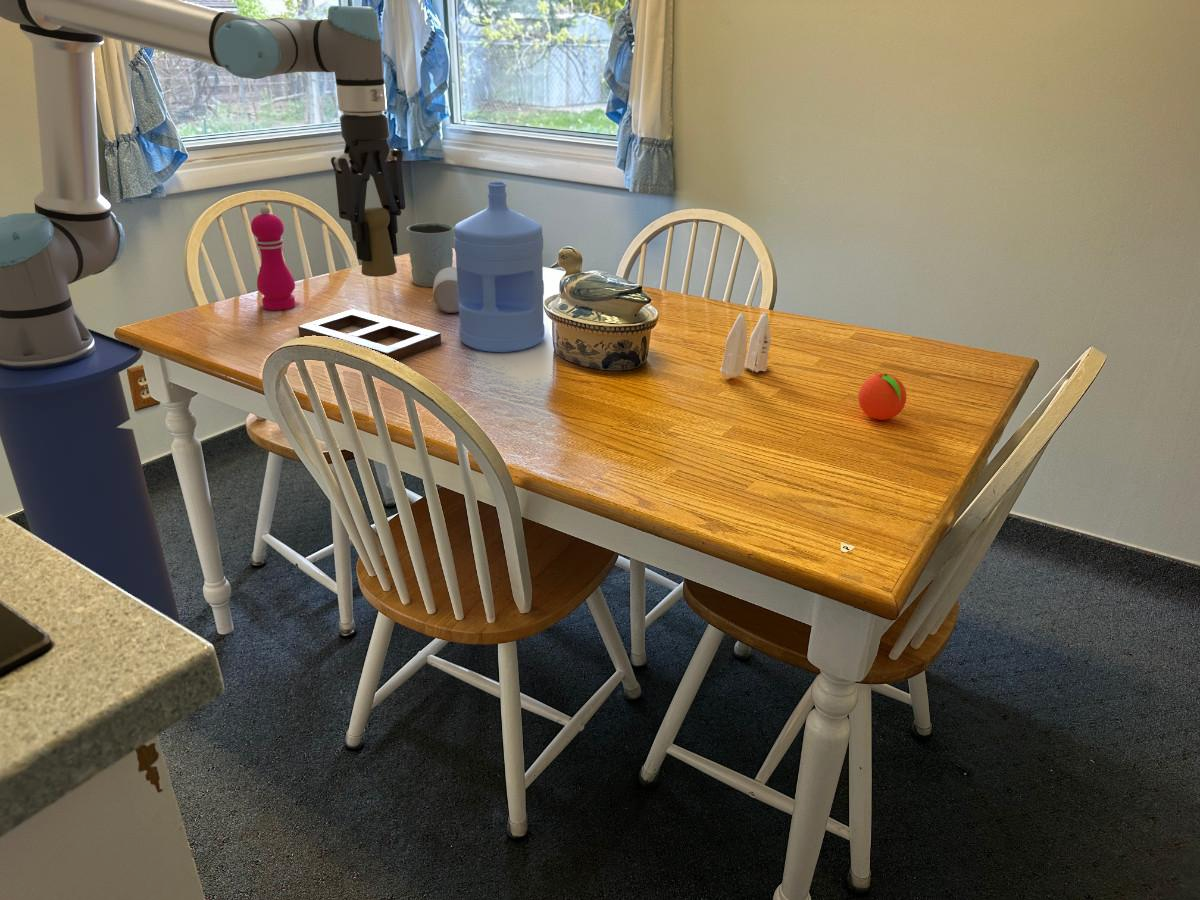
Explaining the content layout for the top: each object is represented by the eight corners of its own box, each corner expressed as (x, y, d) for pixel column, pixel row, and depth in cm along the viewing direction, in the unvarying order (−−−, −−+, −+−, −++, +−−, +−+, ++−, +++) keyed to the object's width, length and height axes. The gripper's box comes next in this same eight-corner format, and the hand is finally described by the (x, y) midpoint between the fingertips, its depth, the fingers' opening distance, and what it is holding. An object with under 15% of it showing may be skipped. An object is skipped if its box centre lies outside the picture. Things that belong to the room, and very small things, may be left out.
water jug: (475, 322, 171) (468, 173, 158) (553, 329, 168) (552, 178, 156) (447, 349, 157) (436, 189, 145) (531, 357, 155) (528, 194, 142)
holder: (388, 364, 151) (387, 353, 150) (299, 336, 162) (297, 326, 161) (441, 343, 160) (440, 333, 159) (353, 318, 172) (352, 309, 171)
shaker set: (731, 387, 144) (737, 322, 139) (711, 380, 146) (716, 316, 141) (774, 369, 151) (781, 307, 146) (754, 362, 154) (760, 301, 149)
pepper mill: (302, 307, 178) (288, 207, 169) (266, 313, 174) (250, 211, 165) (291, 298, 183) (277, 200, 174) (256, 304, 179) (240, 204, 170)
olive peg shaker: (366, 267, 156) (360, 203, 151) (400, 267, 155) (395, 204, 150) (357, 276, 150) (350, 210, 145) (392, 277, 150) (386, 211, 145)
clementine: (915, 427, 131) (924, 383, 127) (874, 432, 129) (882, 388, 126) (885, 406, 138) (893, 364, 134) (846, 411, 136) (853, 368, 133)
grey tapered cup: (412, 275, 200) (408, 222, 195) (457, 275, 201) (454, 222, 196) (408, 288, 191) (404, 233, 186) (455, 287, 192) (452, 232, 187)
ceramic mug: (433, 315, 174) (431, 277, 171) (435, 302, 182) (433, 266, 178) (486, 315, 176) (485, 277, 172) (486, 302, 183) (485, 266, 180)
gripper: (334, 119, 133) (351, 271, 143) (421, 110, 146) (431, 249, 156) (301, 115, 136) (321, 263, 147) (389, 107, 150) (401, 243, 160)
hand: (377, 256), depth 152 cm, fingers closed on olive peg shaker, 5 cm apart
